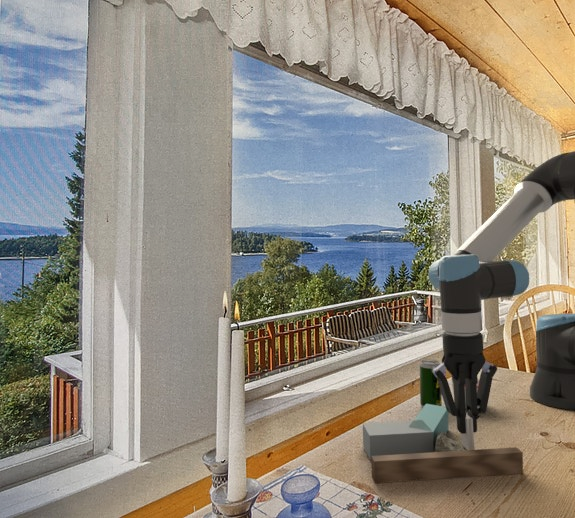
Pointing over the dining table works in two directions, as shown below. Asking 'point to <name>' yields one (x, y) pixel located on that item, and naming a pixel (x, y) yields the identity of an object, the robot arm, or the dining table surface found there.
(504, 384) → the dining table surface
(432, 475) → the walnut wall
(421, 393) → the beer can
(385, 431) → the grey teal angled block
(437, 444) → the rock sample
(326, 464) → the dining table surface
